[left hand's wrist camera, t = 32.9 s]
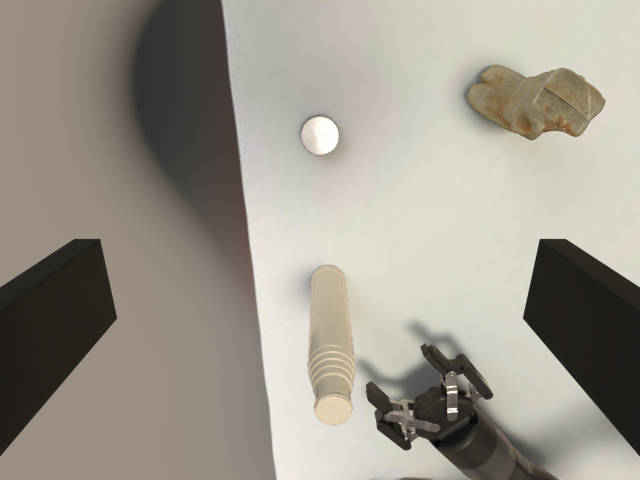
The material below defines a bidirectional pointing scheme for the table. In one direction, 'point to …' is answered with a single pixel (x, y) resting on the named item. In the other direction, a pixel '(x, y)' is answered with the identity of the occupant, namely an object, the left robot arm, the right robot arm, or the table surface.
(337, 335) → the bottle
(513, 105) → the sculpture
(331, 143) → the cap
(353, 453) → the table surface
